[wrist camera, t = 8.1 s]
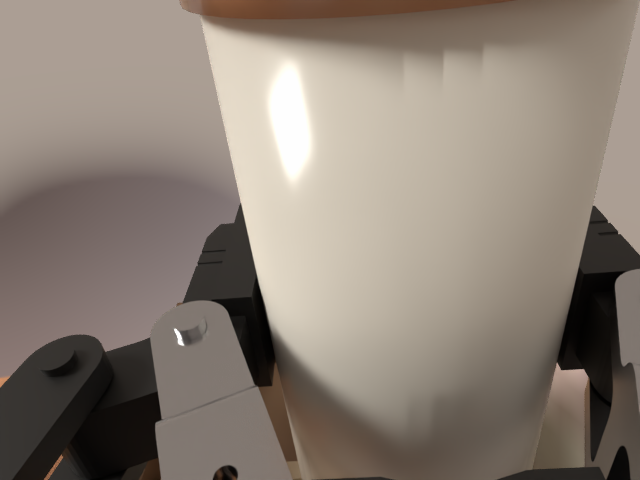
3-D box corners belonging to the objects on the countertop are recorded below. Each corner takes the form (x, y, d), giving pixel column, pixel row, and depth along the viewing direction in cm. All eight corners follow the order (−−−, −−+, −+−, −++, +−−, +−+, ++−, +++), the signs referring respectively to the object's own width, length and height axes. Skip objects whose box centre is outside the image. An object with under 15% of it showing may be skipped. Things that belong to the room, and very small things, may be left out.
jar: (304, 653, 12) (48, -130, 4) (312, 439, 17) (210, -106, 8) (552, 650, 11) (923, -249, 3) (486, 431, 16) (563, -152, 8)
